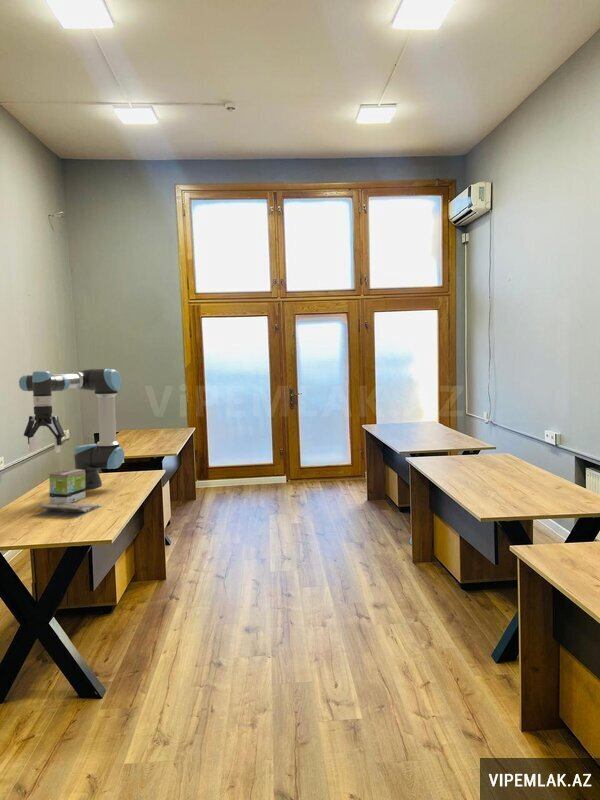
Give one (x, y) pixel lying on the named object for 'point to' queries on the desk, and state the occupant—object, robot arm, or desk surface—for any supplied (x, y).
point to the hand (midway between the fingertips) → (45, 452)
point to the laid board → (85, 506)
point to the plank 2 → (72, 508)
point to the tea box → (67, 486)
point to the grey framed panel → (64, 513)
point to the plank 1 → (50, 507)
